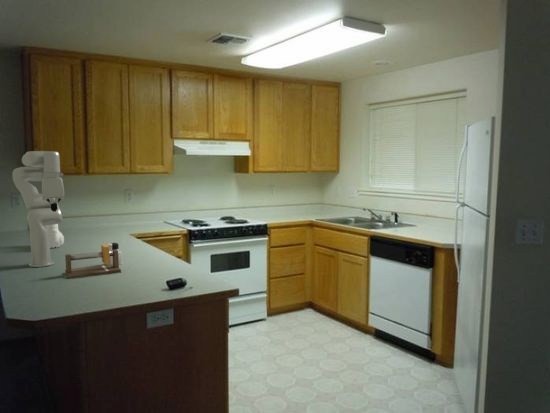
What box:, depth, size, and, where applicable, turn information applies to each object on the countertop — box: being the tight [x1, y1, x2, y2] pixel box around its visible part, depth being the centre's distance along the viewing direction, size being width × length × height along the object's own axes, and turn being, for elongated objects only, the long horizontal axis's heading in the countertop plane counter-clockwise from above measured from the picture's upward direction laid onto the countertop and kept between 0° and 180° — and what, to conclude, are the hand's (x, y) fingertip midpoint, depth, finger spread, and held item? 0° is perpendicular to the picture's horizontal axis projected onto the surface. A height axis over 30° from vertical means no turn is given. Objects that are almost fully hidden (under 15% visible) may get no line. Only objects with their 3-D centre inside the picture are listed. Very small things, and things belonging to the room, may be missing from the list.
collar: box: [100, 243, 110, 265], centre depth 241 cm, size 9×2×9 cm, turn 30°
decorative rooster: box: [44, 224, 65, 249], centre depth 307 cm, size 25×16×25 cm, turn 21°
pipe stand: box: [64, 250, 122, 280], centre depth 238 cm, size 15×25×11 cm, turn 120°
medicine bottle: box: [104, 242, 123, 266], centre depth 257 cm, size 7×7×12 cm
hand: (54, 211), depth 237 cm, fingers closed
